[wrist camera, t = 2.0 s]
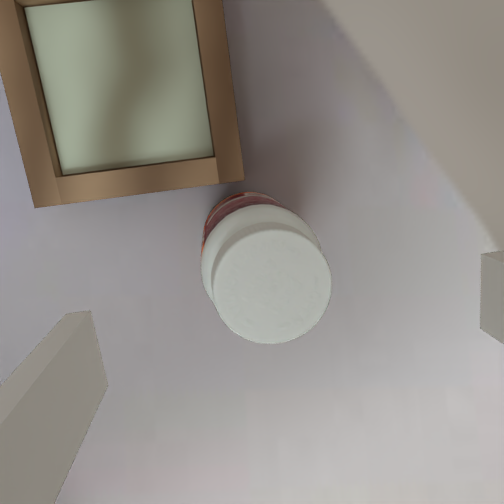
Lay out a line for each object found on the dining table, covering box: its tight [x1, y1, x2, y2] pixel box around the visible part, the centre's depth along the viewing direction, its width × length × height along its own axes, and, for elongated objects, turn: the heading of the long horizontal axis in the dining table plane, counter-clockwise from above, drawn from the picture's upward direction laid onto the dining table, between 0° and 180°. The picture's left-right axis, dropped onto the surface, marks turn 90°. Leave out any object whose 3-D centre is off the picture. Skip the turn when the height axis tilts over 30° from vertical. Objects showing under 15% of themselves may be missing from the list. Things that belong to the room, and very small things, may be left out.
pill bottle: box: [201, 192, 332, 344], centre depth 23 cm, size 6×6×11 cm
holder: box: [0, 0, 245, 208], centre depth 24 cm, size 12×12×3 cm
